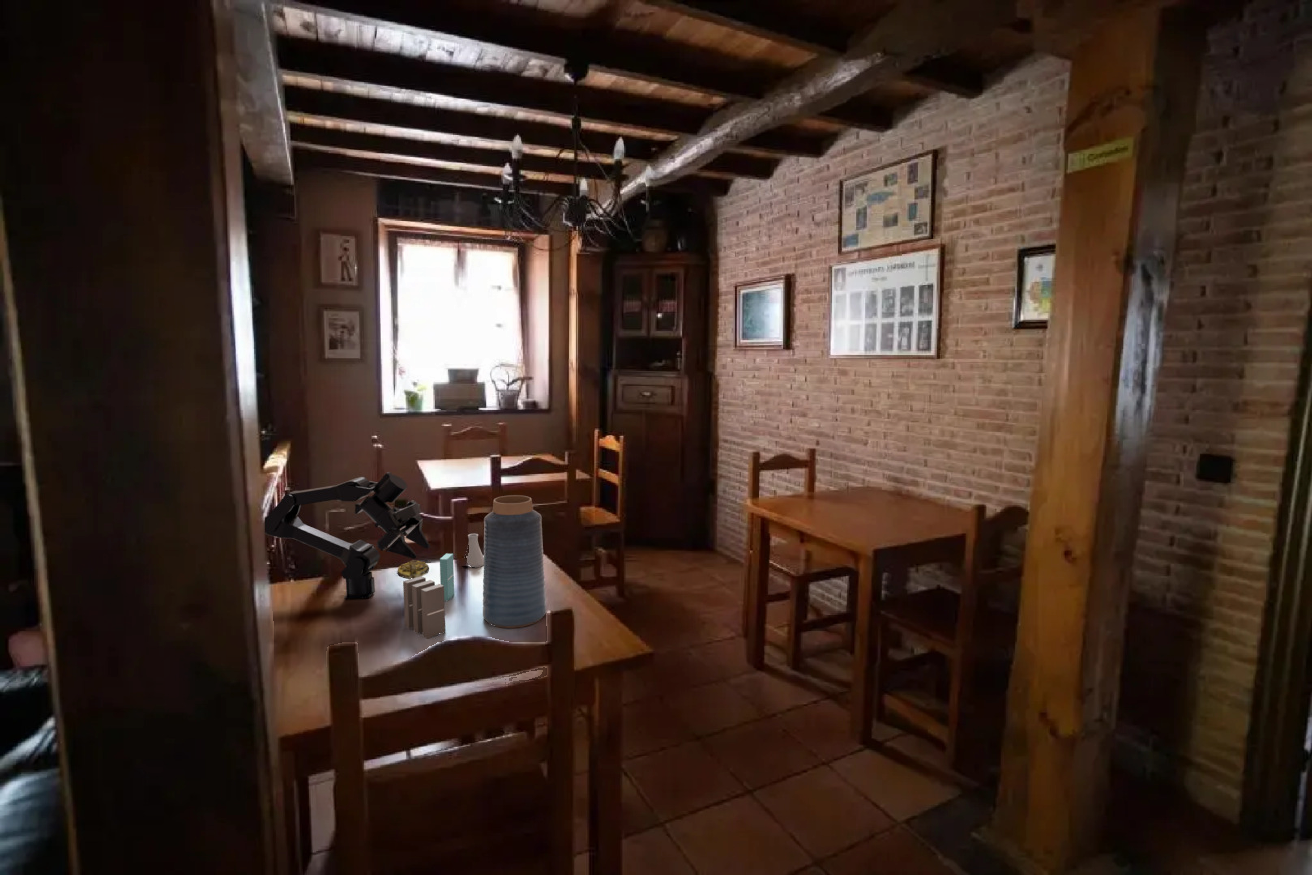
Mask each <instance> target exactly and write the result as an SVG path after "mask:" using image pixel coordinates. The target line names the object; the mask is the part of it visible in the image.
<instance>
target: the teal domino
mask: <svg viewBox="0 0 1312 875" xmlns="http://www.w3.org/2000/svg"><path fill="white" fill-rule="evenodd" d="M454 570H455V569H454V553H445V554H444V555H443V556H442V557H440V558H439V577H440V584H441V585H443V586H444V601H445V600H449V601H450V600H451V598H452V597H453V596H454V595H455V572H454Z"/></svg>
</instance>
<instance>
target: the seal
mask: <svg viewBox="0 0 1312 875" xmlns="http://www.w3.org/2000/svg"><path fill="white" fill-rule="evenodd" d="M429 569H430V566H429V565H428V564H427V563H426V562H425V561H420V560H416V559H412V560H410V561H408V562H406V563H402V564H400V565H399V566H398V568H397V574H398V575H399V576H400V577H402V578H405V577H406V579H411V578H412V579H413V578H416V577H420V576H422V577H424V576H425V575H426V574H428V572H429ZM424 574H425V575H424Z"/></svg>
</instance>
